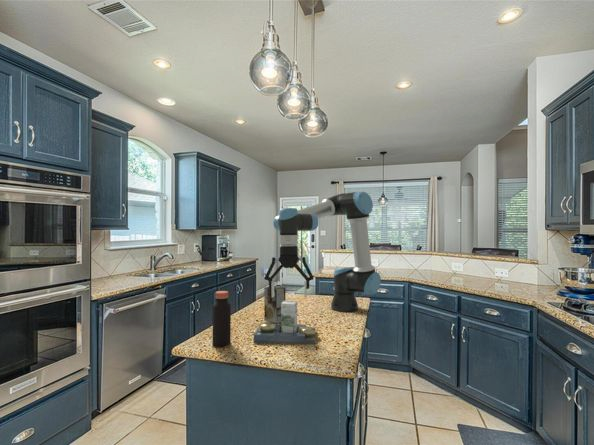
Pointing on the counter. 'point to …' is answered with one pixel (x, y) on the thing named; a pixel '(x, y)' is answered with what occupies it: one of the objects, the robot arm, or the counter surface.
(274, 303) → the coffee box
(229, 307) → the bottle
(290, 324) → the syrup box
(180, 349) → the counter surface
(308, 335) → the grey base plate
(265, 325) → the knobbed grey frame
